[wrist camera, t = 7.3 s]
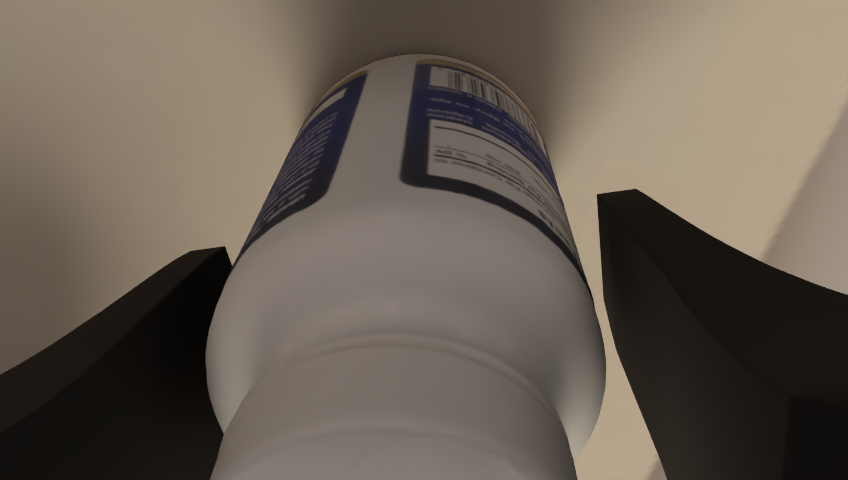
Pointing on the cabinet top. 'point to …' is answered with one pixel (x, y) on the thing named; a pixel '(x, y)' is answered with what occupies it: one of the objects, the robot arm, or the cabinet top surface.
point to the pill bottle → (408, 295)
